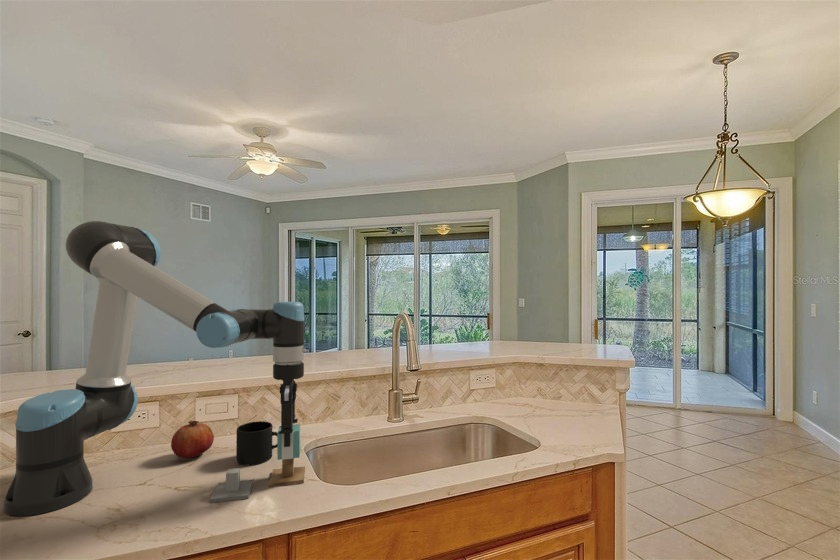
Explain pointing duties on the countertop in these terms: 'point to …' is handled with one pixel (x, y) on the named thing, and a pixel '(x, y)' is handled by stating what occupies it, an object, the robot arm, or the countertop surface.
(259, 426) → the mug
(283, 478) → the brown base with post
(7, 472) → the countertop surface
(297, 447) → the teal rectangular block
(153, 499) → the countertop surface
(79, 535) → the countertop surface
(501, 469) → the countertop surface
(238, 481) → the grey post
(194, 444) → the fruit
